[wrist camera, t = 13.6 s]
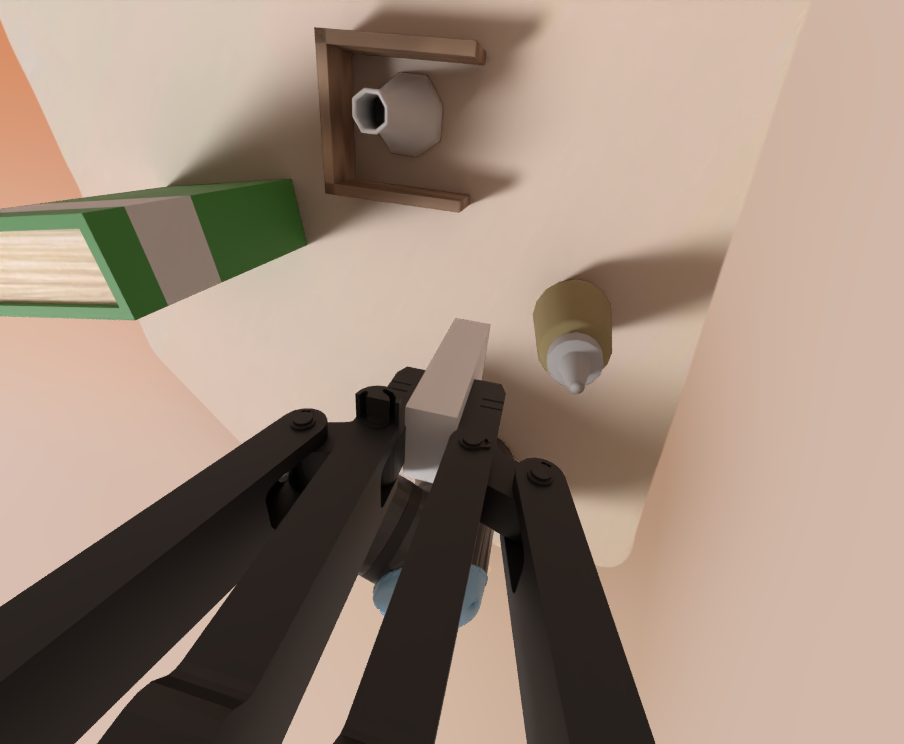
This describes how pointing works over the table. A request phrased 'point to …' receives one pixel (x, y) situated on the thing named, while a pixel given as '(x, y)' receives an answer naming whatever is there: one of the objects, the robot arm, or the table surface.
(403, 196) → the box
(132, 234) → the hardback book
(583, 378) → the squeeze bottle
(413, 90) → the flask
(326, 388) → the table surface
